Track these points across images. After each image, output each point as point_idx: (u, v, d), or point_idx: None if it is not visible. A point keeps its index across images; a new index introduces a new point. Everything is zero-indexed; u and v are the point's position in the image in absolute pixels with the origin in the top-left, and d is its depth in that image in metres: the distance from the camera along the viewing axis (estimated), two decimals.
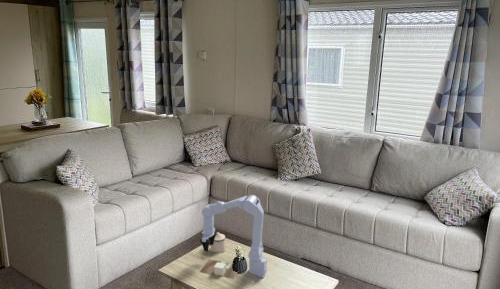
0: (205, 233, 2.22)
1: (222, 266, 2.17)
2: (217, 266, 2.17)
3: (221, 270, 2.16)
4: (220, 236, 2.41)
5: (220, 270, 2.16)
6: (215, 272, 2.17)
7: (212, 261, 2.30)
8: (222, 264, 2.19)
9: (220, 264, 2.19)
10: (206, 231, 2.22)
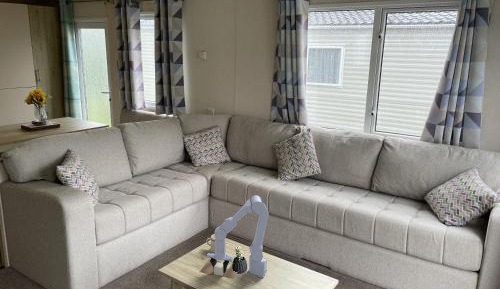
0: None
1: (222, 266, 2.17)
2: (217, 266, 2.17)
3: (221, 270, 2.16)
4: None
5: (220, 270, 2.16)
6: (215, 272, 2.17)
7: None
8: (222, 264, 2.19)
9: (220, 264, 2.19)
10: None
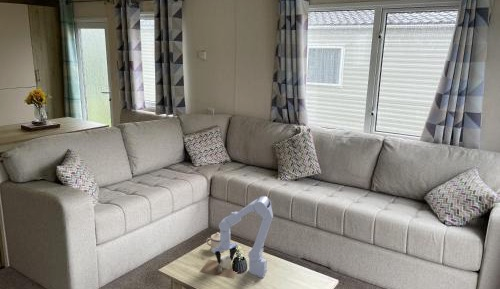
0: (220, 245, 2.23)
1: (228, 257, 2.26)
2: (224, 259, 2.24)
3: (229, 261, 2.25)
4: None
5: (229, 261, 2.24)
6: (224, 265, 2.23)
7: (212, 261, 2.30)
8: (225, 256, 2.27)
9: (224, 256, 2.27)
10: (220, 244, 2.22)
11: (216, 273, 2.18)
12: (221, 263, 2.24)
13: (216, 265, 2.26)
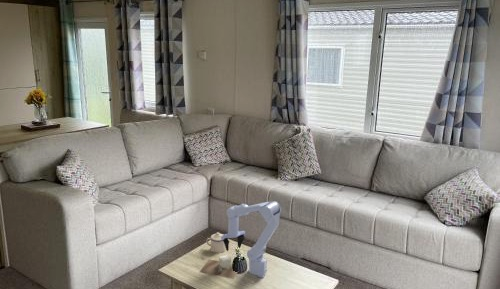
0: (228, 232, 2.25)
1: (228, 257, 2.26)
2: (224, 259, 2.24)
3: (229, 261, 2.25)
4: (220, 236, 2.41)
5: (229, 261, 2.24)
6: (224, 265, 2.23)
7: (212, 261, 2.30)
8: (225, 256, 2.27)
9: (224, 256, 2.27)
10: (228, 231, 2.24)
11: (216, 273, 2.18)
12: (221, 263, 2.24)
13: (216, 265, 2.26)
